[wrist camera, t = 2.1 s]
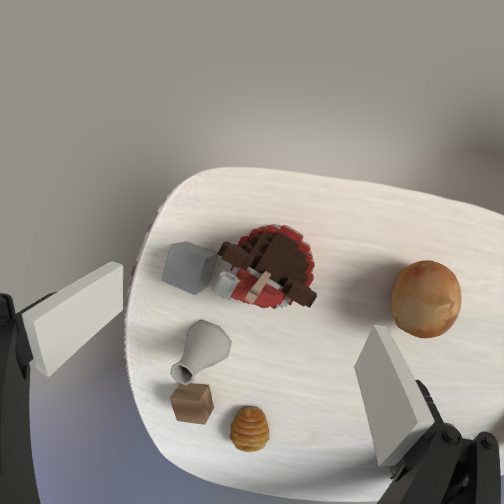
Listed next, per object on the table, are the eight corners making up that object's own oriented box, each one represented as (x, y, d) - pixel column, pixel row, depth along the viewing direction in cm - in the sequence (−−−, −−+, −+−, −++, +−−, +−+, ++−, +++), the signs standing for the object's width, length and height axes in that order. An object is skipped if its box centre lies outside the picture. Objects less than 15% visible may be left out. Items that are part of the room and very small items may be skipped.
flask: (179, 343, 42) (148, 373, 32) (201, 311, 40) (170, 337, 30) (216, 370, 41) (193, 406, 31) (240, 340, 40) (220, 374, 30)
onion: (368, 292, 35) (387, 317, 26) (416, 240, 33) (450, 248, 23) (407, 335, 35) (431, 367, 25) (452, 287, 33) (487, 306, 23)
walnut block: (214, 407, 42) (204, 424, 37) (187, 404, 43) (177, 420, 38) (209, 384, 42) (198, 401, 37) (181, 382, 43) (169, 397, 38)
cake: (329, 250, 36) (350, 279, 18) (293, 308, 37) (281, 379, 20) (259, 209, 37) (216, 202, 19) (226, 269, 39) (165, 309, 21)
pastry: (233, 401, 42) (227, 414, 38) (273, 406, 40) (270, 421, 37) (232, 437, 43) (227, 450, 39) (268, 442, 42) (265, 456, 38)
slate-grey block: (208, 285, 40) (195, 295, 35) (178, 273, 40) (161, 280, 35) (218, 253, 39) (205, 258, 34) (186, 241, 39) (170, 244, 34)
